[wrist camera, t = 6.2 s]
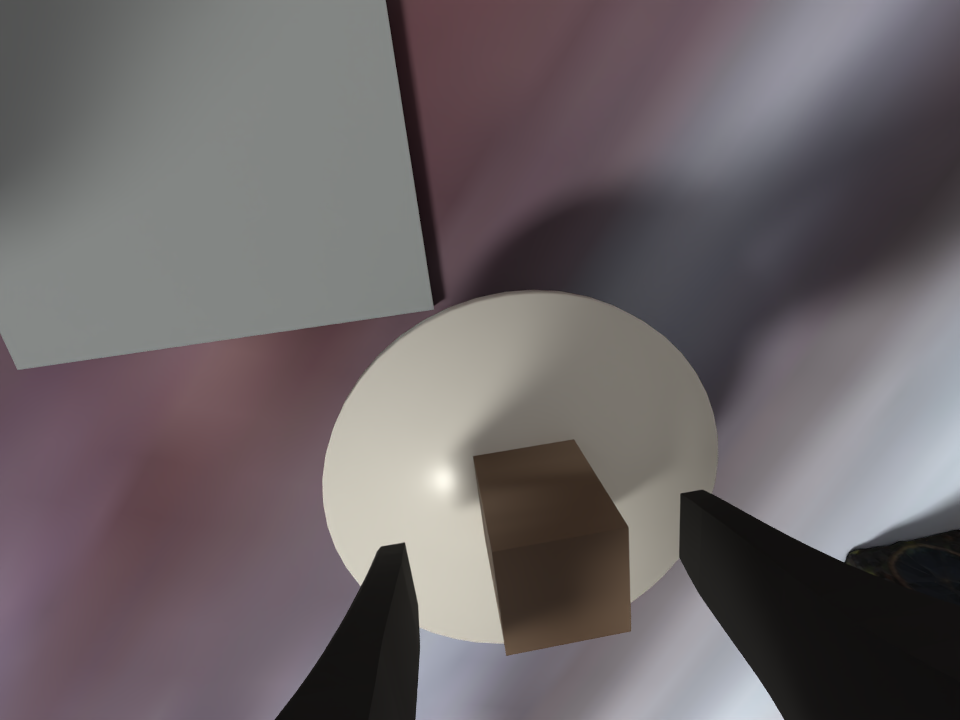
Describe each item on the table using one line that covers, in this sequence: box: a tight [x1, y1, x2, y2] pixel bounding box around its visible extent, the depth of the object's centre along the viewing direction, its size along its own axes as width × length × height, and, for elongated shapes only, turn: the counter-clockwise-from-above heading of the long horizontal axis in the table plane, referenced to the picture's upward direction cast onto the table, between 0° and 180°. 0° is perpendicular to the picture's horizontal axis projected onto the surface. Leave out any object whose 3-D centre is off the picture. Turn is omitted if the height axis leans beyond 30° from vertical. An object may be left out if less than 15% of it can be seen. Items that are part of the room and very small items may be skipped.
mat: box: [0, 0, 434, 370], centre depth 15 cm, size 14×14×1 cm
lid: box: [323, 290, 718, 656], centre depth 13 cm, size 12×12×5 cm
